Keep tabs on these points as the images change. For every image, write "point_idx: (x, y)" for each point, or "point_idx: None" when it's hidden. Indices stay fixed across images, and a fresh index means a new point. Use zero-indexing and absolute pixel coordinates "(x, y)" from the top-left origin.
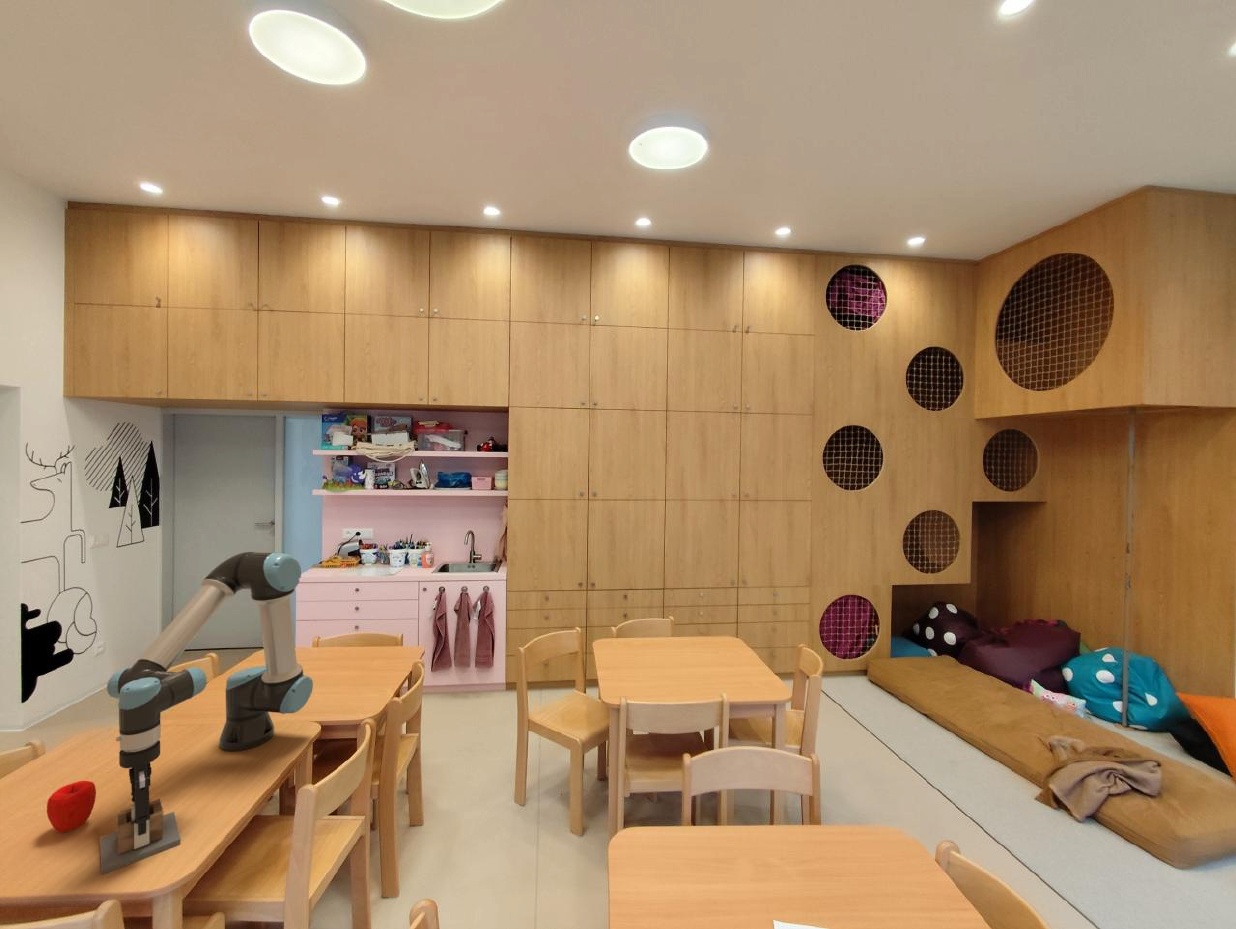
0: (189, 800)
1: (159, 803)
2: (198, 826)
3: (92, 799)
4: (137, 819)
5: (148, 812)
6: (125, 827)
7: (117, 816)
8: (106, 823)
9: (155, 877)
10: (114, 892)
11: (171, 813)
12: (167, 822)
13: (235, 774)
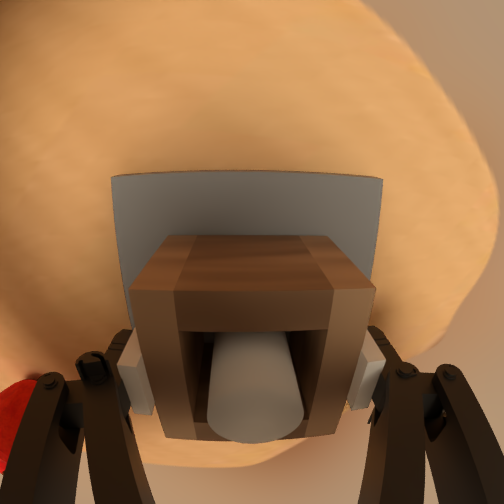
0: (45, 122)
1: (202, 297)
2: (294, 96)
3: (18, 424)
4: (444, 417)
5: (469, 395)
6: (339, 416)
7: (205, 440)
8: (53, 349)
9: (468, 262)
10: (438, 338)
11: (120, 186)
12: (191, 205)
13: (11, 3)
